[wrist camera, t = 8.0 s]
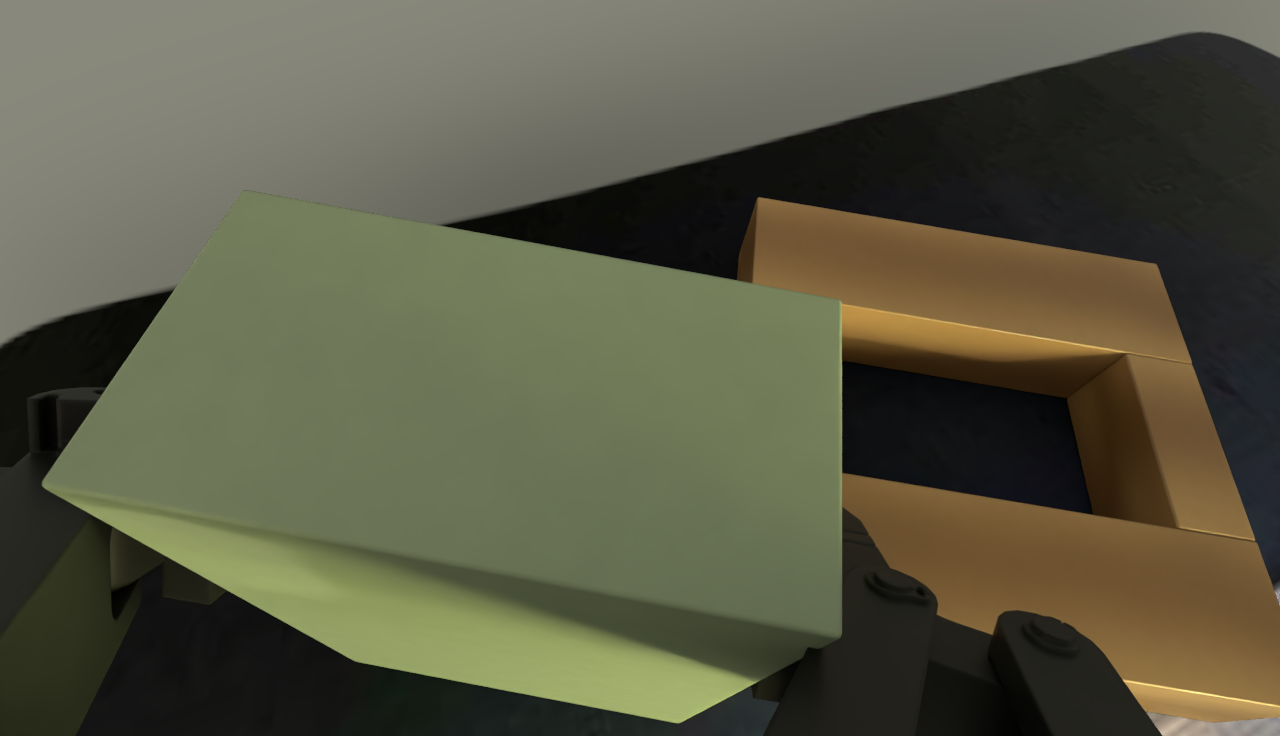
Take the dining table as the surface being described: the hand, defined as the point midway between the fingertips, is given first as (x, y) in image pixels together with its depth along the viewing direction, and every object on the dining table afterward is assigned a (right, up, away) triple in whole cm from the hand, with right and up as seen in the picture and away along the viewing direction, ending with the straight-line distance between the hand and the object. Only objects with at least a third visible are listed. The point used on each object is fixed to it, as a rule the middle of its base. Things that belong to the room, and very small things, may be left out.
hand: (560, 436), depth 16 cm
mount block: (+12, -1, +6) cm, 13 cm away
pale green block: (-1, -5, +2) cm, 5 cm away
